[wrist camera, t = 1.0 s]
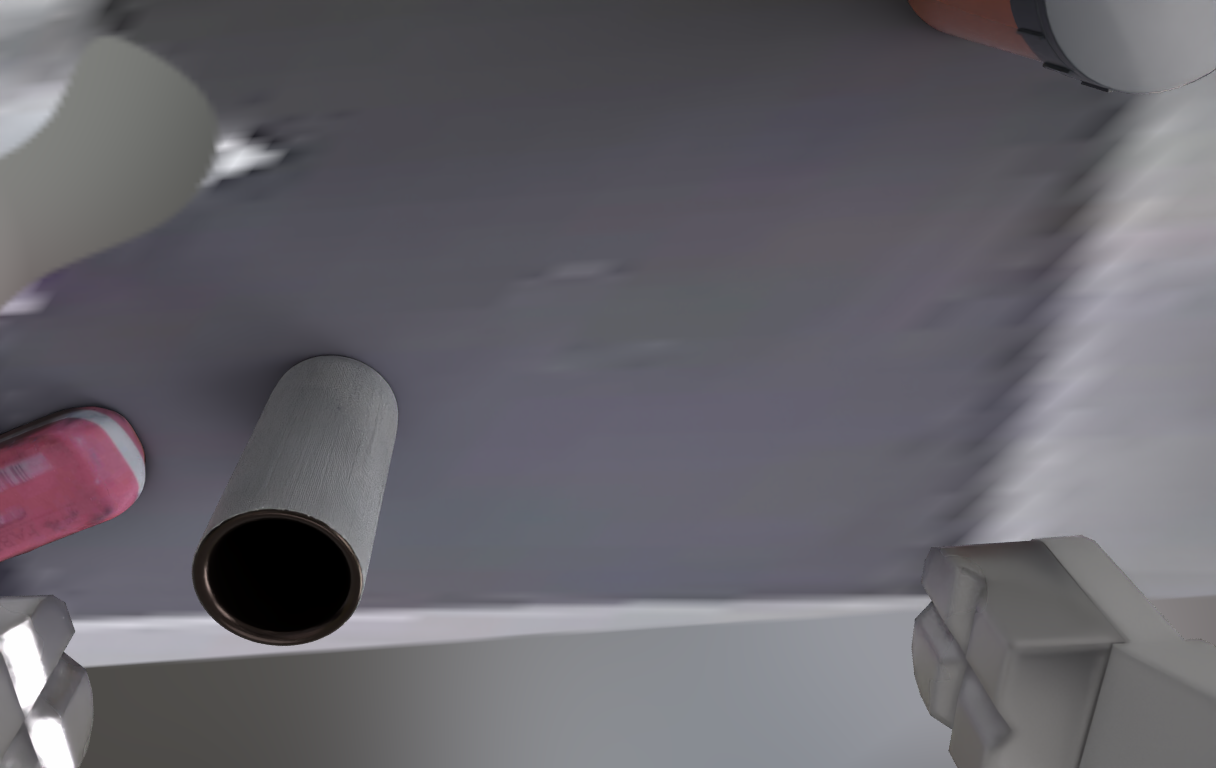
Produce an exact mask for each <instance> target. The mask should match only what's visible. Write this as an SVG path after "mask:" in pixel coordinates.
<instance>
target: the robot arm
mask: <svg viewBox="0 0 1216 768" xmlns="http://www.w3.org/2000/svg"><path fill="white" fill-rule="evenodd" d="M921 583H922V585H923V586H924V588H925V590H926V592H927V593H928V595H929V597H930V598H931V600H932V602H931V603H930V604H929V605H928V606H927V607H926V608H925V609H924V610H923V611H922V612H921V613H920V614H919V615H918V617H917V618H916V619H915V624H914V632H913V640H912V654H913V655H912V656H913V665H914V675H915V678H916V682H917V685H918V688H919V692H920V695H921V697H922V699H923V701H924V703H925V705H926V707H927V709H928V711H929V713H930V715H931V716H932V717H934V718H935V719H937V720H938V721H940V722H941V723H943V724H944V725H946V726H947V727H949V728H951V729H952V735H951V740H950V746H949V752H950V754H951V756H952V758H953V760H954V762H955V764H956V766H957V767H958V768H1216V646H1215V645H1213V644H1211V643H1208V642H1206V641H1204V640H1202V639H1192V640H1184V638H1182V636H1181V635H1180V634H1179V633H1178V632H1177V631H1176V630H1175V629H1174V627H1173V626H1172V625H1171V624H1170V623H1169V622H1168V621H1167V620H1166V619H1165V618H1164V617H1163V616H1162V614H1161V613H1160V612H1159V611H1158V610H1157V609H1156V608H1155V607H1154V606H1153V605H1152V603H1151V602H1150V601H1149V600H1148V599H1147V598H1146V597H1145V596H1144V595H1143V593H1142V592H1141V591H1140V590H1139V589H1138V588H1137V587H1136V586H1135V585H1134V584H1133V583H1132V581H1131V580H1130V579H1129V578H1128V577H1127V576H1126V575H1125V574H1124V573H1123V572H1122V570H1121V569H1120V568H1119V567H1118V566H1117V565H1116V564H1115V563H1114V562H1113V561H1112V560H1111V558H1110V557H1109V556H1108V555H1107V554H1106V553H1105V552H1104V551H1103V550H1102V549H1101V547H1100V546H1099V545H1098V544H1097V543H1096V542H1095V541H1094V540H1092V539H1089V538H1087V537H1085V536H1083V535H1075V536H1063V537H1051V538H1040V539H1032V540H1031V541H1020V542H1004V543H989V544H973V545H958V546H942V547H931V549H930V551H929V553H928V555H927V557H926V559H925V562H924V568H923V574H922V579H921ZM74 633H75V630H74V627H73V624H72V621H71V618H70V615H69V612H68V609H67V606H66V603H65V602H64V601H62V600H60V599H59V598H57V597H55V596H54V595H36V596H8V597H0V768H79V767H80V765H81V762H82V760H83V758H84V756H85V753H86V751H87V749H88V745H89V740H90V734H91V729H92V723H93V718H94V712H93V699H92V689H91V685H90V682H89V678H88V674H87V671H86V669H85V668H83V667H82V666H81V665H80V664H78V663H77V662H76V661H74V660H73V659H72V658H71V657H69V656H68V655H67V654H66V653H64V650H65V648H66V647H67V645H68V643H69V641H70V640H71V638H72V636H73V634H74Z"/></svg>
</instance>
